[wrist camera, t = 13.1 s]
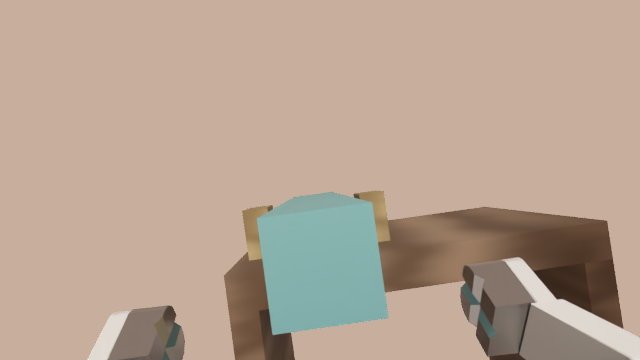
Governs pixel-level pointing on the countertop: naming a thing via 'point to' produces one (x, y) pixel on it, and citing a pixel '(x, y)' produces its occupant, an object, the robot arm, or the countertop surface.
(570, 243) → the wooden cabinet unit
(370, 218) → the teal block
